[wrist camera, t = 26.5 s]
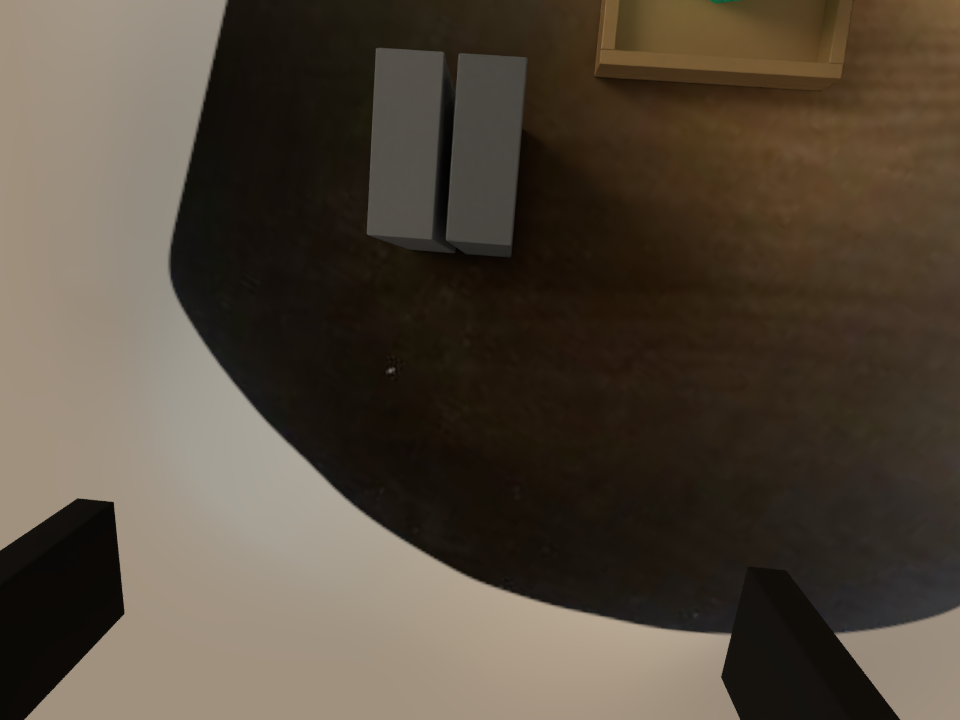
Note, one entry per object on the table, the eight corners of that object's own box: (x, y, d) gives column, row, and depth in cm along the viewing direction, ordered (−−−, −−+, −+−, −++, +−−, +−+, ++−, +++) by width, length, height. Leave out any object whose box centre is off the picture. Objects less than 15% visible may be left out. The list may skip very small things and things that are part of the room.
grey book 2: (474, 124, 35) (458, 52, 24) (522, 127, 35) (527, 56, 24) (464, 253, 36) (445, 240, 25) (511, 257, 36) (511, 246, 25)
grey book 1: (416, 120, 35) (375, 47, 24) (464, 123, 35) (444, 51, 24) (409, 249, 36) (366, 235, 26) (455, 253, 36) (432, 239, 25)
